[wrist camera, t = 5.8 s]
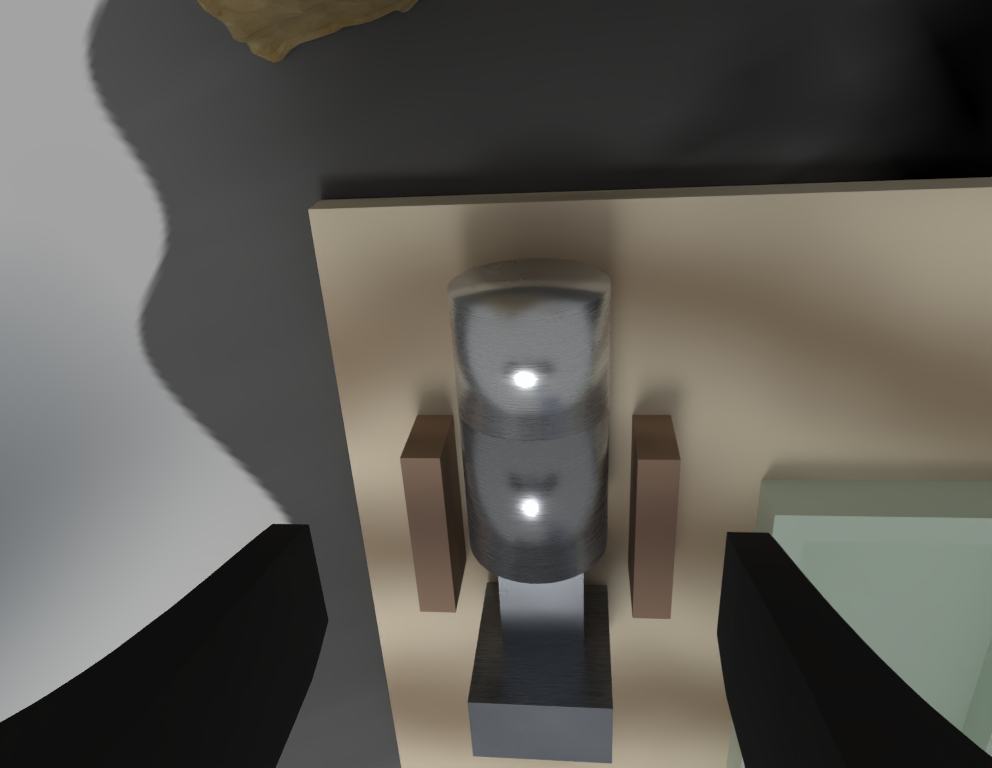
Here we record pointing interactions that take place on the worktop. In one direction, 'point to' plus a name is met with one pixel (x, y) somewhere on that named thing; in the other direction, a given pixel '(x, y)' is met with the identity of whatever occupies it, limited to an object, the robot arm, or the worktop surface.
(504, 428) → the grey cylinder
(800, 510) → the tray
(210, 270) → the worktop surface
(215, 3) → the rock
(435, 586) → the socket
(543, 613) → the grey stepped block
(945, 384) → the board
